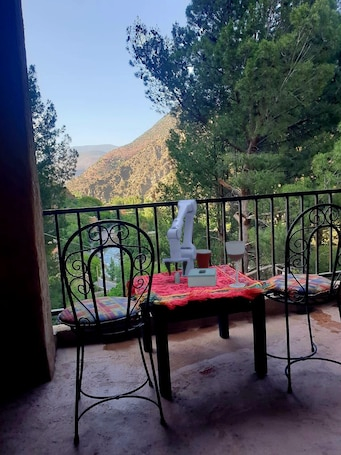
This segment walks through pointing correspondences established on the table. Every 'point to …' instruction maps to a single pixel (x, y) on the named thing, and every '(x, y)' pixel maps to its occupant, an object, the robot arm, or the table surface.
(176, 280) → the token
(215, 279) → the coin box
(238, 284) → the wineglass
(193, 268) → the robot arm
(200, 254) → the plastic cup
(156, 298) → the table surface
